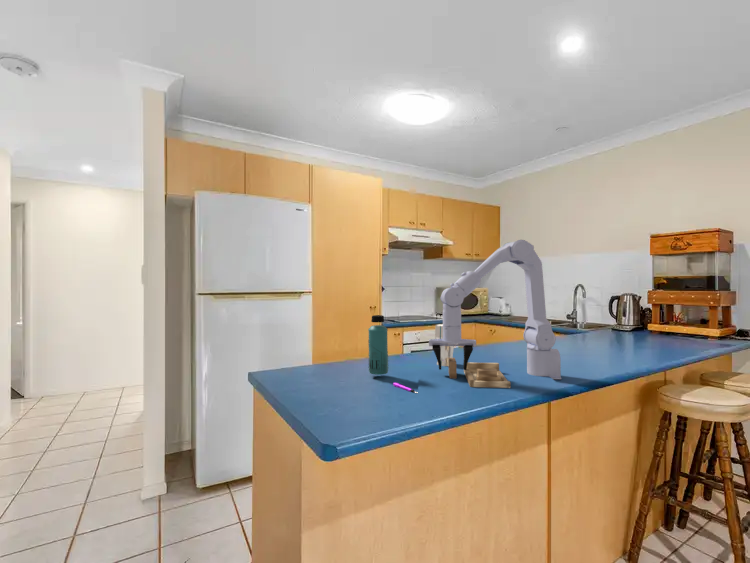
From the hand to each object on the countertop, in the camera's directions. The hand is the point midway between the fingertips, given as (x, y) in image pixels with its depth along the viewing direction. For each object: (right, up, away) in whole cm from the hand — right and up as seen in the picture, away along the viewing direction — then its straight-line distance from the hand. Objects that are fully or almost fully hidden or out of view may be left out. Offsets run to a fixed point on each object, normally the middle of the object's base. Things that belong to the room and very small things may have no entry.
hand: (452, 369), depth 121 cm
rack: (+9, -3, -5) cm, 11 cm away
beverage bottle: (-23, -4, +3) cm, 24 cm away
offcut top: (+8, 0, -10) cm, 13 cm away
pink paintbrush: (-14, -4, -13) cm, 19 cm away
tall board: (0, -3, 0) cm, 3 cm away
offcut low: (+8, -2, -11) cm, 13 cm away
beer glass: (+1, -3, +16) cm, 16 cm away
